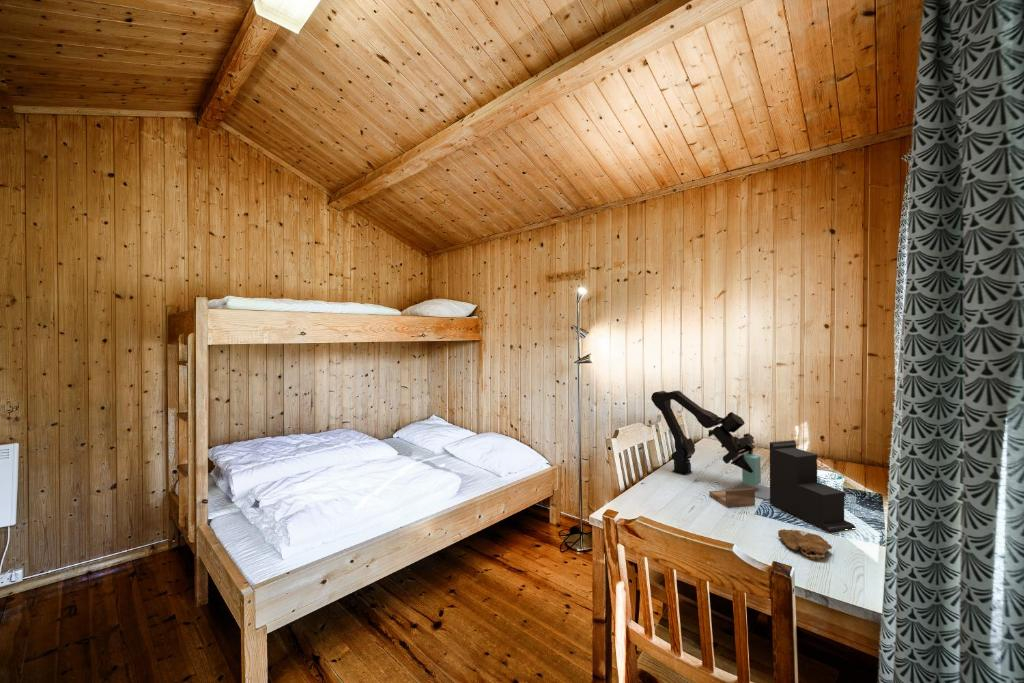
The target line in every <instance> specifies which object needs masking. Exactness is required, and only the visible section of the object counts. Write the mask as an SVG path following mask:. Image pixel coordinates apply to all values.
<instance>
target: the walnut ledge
mask: <svg viewBox="0 0 1024 683" xmlns="http://www.w3.org/2000/svg"><path fill="white" fill-rule="evenodd" d="M709 498H711V499H713V500H715V501H716V502H718V503H720V504H722V505H723V506H725V507H726V508H739V507H747V506H748V507H749V506H750V505H751V506H756V497H755V489H754V488H746V489H732V488H730V489H722V490H710V491H709ZM751 506H750V507H751Z"/></svg>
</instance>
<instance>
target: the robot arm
mask: <svg viewBox="0 0 1024 683" xmlns="http://www.w3.org/2000/svg"><path fill="white" fill-rule="evenodd" d="M650 400H651V402H652V403H653V404H654V406H655V407H656V408H657V409H658V410H659V411H661V413H662V417H663V418H664V420H665V423H666V425H667V426H668V429H669V431H670V433H671V435H672V437H673V439H674V449H675V451H674V452H673V453H672V454H671V455H670V456H671V459H672V460H673V470H672V471H671V472H672V473H676V474H679V475H683V476H686V475H688V474H691V473H692V472H693V471H692V463H691V459H692V457H693V455H694V454H695V452H696V448H695V447H696V445H695V444H694V443H693V439H692V438H691V437H690V438H687V436H685V434H684V431H683V430H682V428H681V425H680V423H679V421H678V419H677V417H676V415H675V413H674V411H673V409H672V406H671V404H672V403H671V402H672V401H673V400H674V401H675V402H676V403H678V405H680V406H682V407H683V408H684V409H685V410H687V411H688V412H689V413H690V414H692V415H693V416H694V417H695V419H696V421H698V423H699V424H700V425H701V426H702V427H703V428H705V429H708V434H707V436H708V438H710V437H713V436H714V437H715V439H717V440H718V442H719V443H720V444H721V445H720V447H721V448H722V449H725V450H726V451H727V453H726V454H724V456H723V455H722V462H724V463H725V465H727V464H729V463H730V465H735V466H736V467H738V468H740V469H744V470H746V471H748V472H750V473H752V472H753V470H752V469H751V467H750V466H749V465H748V463H747V462H746V461H745V459H744V455H745V454H753V453H754V449H755V448H756V446H755V445H754V443H755V441H754V438H755V437H754V436H753V435H752V434H750V433H748V432H747V433H744V434H743V437H740V438H739V437H738V436H736V435H735V436H734V435H732V433H735V432H737V431H738V430H739V429H741V428H742V427H743V426H744V425H745V420H744V419H743V418H742V417H741V416H739V415H738V414H736V413H734V412H733V411H731V412H728V414H727V415H726V416H725V417H720V416H718V415H717V414H715V413H714V412H712V411H710V410H707V409H705V408H703V407H701V406H700V405H699V404H697V403H696V402H694V401H693V400H692V399H690V398H689V397H688V396H686V395H685V394H684V393H682V391H681V390H673V391H668V392H667V391H665V390H661V391H654V392H652V394H651V397H650ZM671 400H672V401H671ZM719 425H720V426H719ZM711 428H713V429H711ZM753 455H754V454H753Z"/></svg>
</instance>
